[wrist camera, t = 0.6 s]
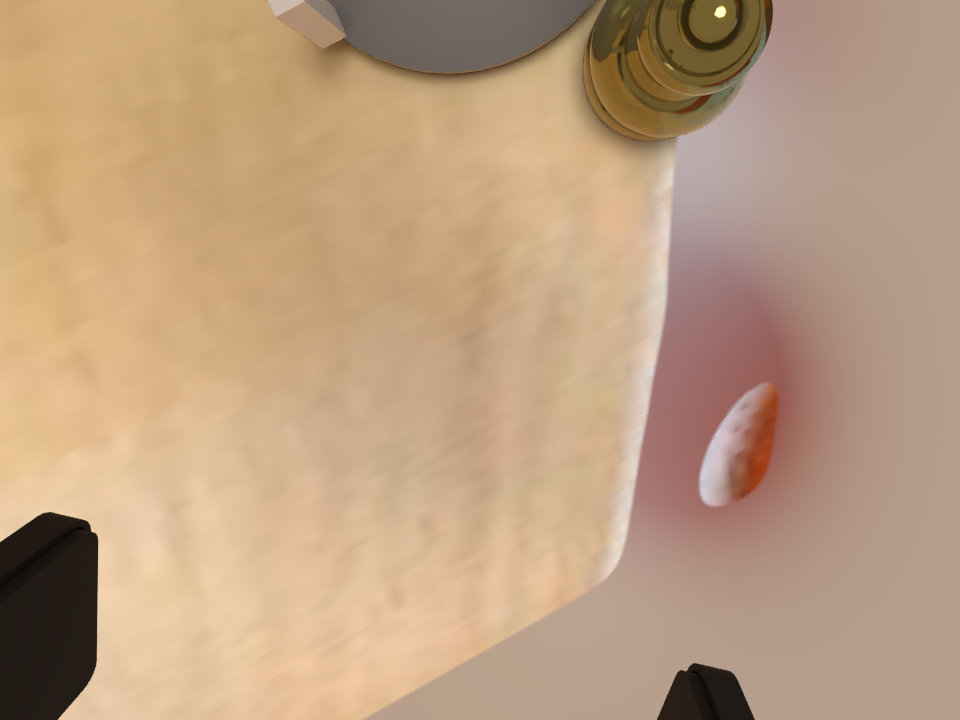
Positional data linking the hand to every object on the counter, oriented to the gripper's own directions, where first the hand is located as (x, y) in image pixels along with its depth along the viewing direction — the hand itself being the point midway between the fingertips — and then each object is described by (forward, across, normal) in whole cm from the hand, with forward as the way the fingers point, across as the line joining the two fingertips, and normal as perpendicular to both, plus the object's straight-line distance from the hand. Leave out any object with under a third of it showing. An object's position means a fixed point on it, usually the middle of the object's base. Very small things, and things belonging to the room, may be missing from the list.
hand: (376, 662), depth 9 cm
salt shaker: (+27, -6, -15) cm, 31 cm away
